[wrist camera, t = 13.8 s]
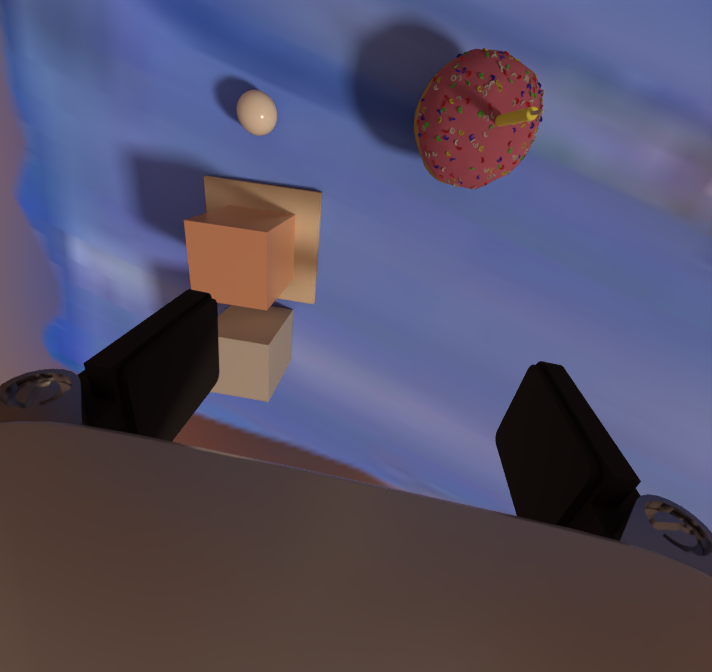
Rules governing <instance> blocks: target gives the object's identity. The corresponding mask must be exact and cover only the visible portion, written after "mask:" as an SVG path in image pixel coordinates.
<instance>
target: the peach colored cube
mask: <svg viewBox="0 0 712 672" xmlns="http://www.w3.org/2000/svg"><path fill="white" fill-rule="evenodd" d="M184 227H185V236H186V246H187V255H188V264H189V274H190V283H191V289H192V290H197V291H202V292H206V293H210V294H211V296H212V299H215V300H216V301H217V303H223V304H229V305H235V306H242V307H248V308H254V309H260V310H268V309H269V307H270V306H271V305H272V304H273V303H274V301H275V300H276V299H277V298H278V297H279V295H280V294H281V293H282V292H283V291H284V290H285V288H286V287H287V286H288V285H289V284H290V282H291V281H292V280H293V269H294V241H295V215H294V214H287V213H280V212H273V211H267V210H260V209H253V208H246V207H239V206H232V205H228V206H225V207H222V208H219V209H216V210H213V211H210V212H207V213H204V214H201V215H197V216H194V217H191V218H188V219H185V220H184Z"/></svg>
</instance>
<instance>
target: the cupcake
mask: <svg viewBox="0 0 712 672" xmlns="http://www.w3.org/2000/svg"><path fill="white" fill-rule="evenodd" d="M459 55H460V56H459ZM540 87H541V84H540V83H539V82H538V80H537V75H536V74H535V73H534V72H533V71H531V70H530V69H529V68H527V67H526V66H525V65H523V64H522V63H521V62H520V60H518V59H515V58H514V57H512V56H511V55H509V53H508V52H507V51H504V52H503V51H497V50H486V49H485V48H483V50H481V49H474V50H471V51H468V52H465V53H463V54H458V55H457V58H455V59H454V60H452V61H450V62H449V63H447V64H446V65H445V66H444V67H443V68H442V69H441V70H439V71H438V72H437V74H436V75H435V76H434V77H433V78H432V79H431V80H430V82H429V83H428V85H427V87H426V89H425V91H424V93H423V94H422V96H421V98H420V100H419V103H418V105H417V108H416V112H415V118H414V134H415V139H416V143H417V146H418V149H419V152H420V155H421V157H422V160H423V163H424V166H425V168H426V169H427V170H428V172H429V173H430V174H431V175H432V176H433V177H434V178H435V179H437V180H438V181H440V182H443V183H446V184H450V185H454V187H457V186H460V187H465V188H469V189H476V188H480V187H482V186H484V185H487V184H488V183H490V182H492V181H494V180H496V179H498V178H500V177H503V176H505V175H506V174H510V172H511V171H512V170H513V169H514V168H515V167H516V166H517V165H518V164H519V163H520V161H521V160H522V159H523V158H524V157H525V155H526V153H527V152H528V150H529V148H530V146H531V144H532V143H533V142H534V141H535V140H534V138H535V137H536V133H537V129H538V126H539V122H541V121H542V117H541V114H542V113H544V110H543V109H542V107H543V105H542V102H543V100H542V96H543V95H544V90H541V89H540ZM542 92H543V93H542Z"/></svg>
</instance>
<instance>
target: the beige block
mask: <svg viewBox="0 0 712 672" xmlns="http://www.w3.org/2000/svg"><path fill="white" fill-rule="evenodd" d="M292 326H293V309H286V308H280V307H274V306H270V307H269V309H268V310H260V309H254V308H248V307H242V306H235V305H230V306H229V307H228V308H227V309H226V310H225V311H224V312H223V313H222V314H221V315H219V316H218V342H219V371H220V372H219V378H218V381H217V383H216V385H215V386H214V387H213V389H212V390H211V391H210V392H215V393H221V394H227V395H233V396H238V397H244V398H250V399H256V400H261V401H267V402H269V400H270V398H271V396H272V394H273V392H274V391H275V389H276V387H277V385H278V383H279V381H280V379H281V377H282V376H283V374H284V372H285V370H286V368H287V366H288V364H289V362H290V361H291V352H292Z"/></svg>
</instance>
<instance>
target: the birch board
mask: <svg viewBox="0 0 712 672" xmlns="http://www.w3.org/2000/svg"><path fill="white" fill-rule="evenodd" d="M204 186H205V199H206V213H207V212H210V211H213V210H216V209H219V208H222V207H225V206H228V205H232V206H239V207H246V208H253V209H260V210H267V211H273V212H280V213H287V214H294V215H295V241H294V269H293V280H292V281H291V282H290V284H289V285H288V286H287V287H286V288H285V290H284V291H283V292H282V293H281V294H280V295H279V297H278V299H285V300H291V301H297V302H303V303H310V304H314V302H315V290H316V275H317V261H318V247H319V232H320V218H321V204H322V192H317V191H310V190H303V189H296V188H289V187H282V186H275V185H268V184H261V183H254V182H247V181H240V180H233V179H226V178H219V177H212V176H204Z"/></svg>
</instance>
